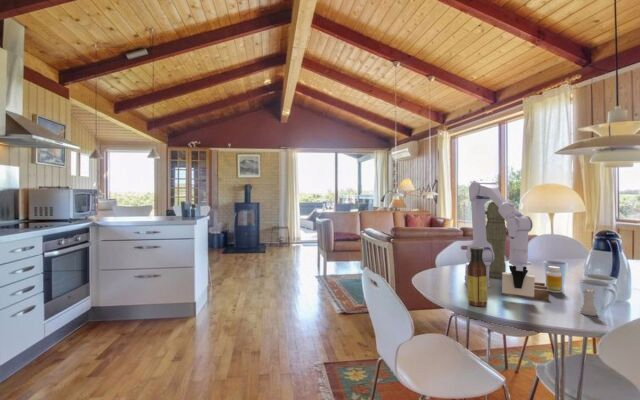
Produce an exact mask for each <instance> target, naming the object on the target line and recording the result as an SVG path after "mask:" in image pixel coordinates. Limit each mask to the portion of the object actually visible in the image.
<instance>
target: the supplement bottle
mask: <svg viewBox="0 0 640 400" xmlns="http://www.w3.org/2000/svg"><path fill="white" fill-rule="evenodd" d="M547 270H548V271H546V272H545V286H547V290H549V293H554V294H555V293H556V294H557V293H562V286H563V285H562V284H563V281H562V280H563V274H562V273H561V267H560V266H554V265H548V266H547Z"/></svg>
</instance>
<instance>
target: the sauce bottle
mask: <svg viewBox="0 0 640 400" xmlns="http://www.w3.org/2000/svg"><path fill="white" fill-rule="evenodd" d="M470 252H471V261H470V263H469V262H468V263H469V264H468V274H467V283H468V285H467V302H468V304H469V305H471V306H472V307H473V306H474V307H478V308H480V307H486V306H487V305H488V287H487V275H486V266H485V264H484V262H483V259H482V253H483V247H471V248H470Z"/></svg>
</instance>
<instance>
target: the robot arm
mask: <svg viewBox="0 0 640 400" xmlns="http://www.w3.org/2000/svg"><path fill="white" fill-rule="evenodd" d="M468 195H469V196H468V197H469V199H468V200H469V201H470V203H471V204H470V205H471V206H470V207H471V208H470V209H471V223H472V227H471V228H472V241H471V242H470V243H468V244H467V247H466V252H465V254H466V260H467V262H465V272H464V273H465V275H464V285H466V286H468V283H467V274H468V264H469V263H470V261H471V252H470V248H471V247H479V248H483V253H482V259H483V262H484V264H485V266H486V275H487V288H491V282H490V278H489V265H491V263H492V262H493V260H494V252H493V249H492V245H491V244H490V243H488V242H487V238H486V225H487V221H486V214H485V212H486V208H485V207H486V206H485V204H486V203H487V202H489V201H490V200H491V202H494V203H495V204H496V205H497V206H498V207H499V209H498V211H499V213H500V214H501V216H502V217H503V218H504V219H505V226H506V230H507V229H508V235H507V236H509V260H508V263H509V266H508V267H509V272H510V273H512V276H513V282H514V287H515V288H519V289H521V288H522V285H523V281H524V278H525V275H528V272H529V270H528V269H527V268H528V267H527V266H531V265H532V262H530V261H528V255H529V254H528V251H529V232H531V230H532V229H533V226H534V224H533V220H532V218H531V216H529V215H525V214H522V213H521V212H520V210H519V209H518V208H517V207H516V205H515V204H514V203H513V202H510V201H507V200H506V198H505V197H504V196H503V194H502V193H501V192H500V185H499V184H498V183H497V181H479V180H478V181H477V180H474V181H473V180H472V182H470V184H469V187H468Z"/></svg>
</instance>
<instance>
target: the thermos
mask: <svg viewBox="0 0 640 400" xmlns="http://www.w3.org/2000/svg"><path fill="white" fill-rule="evenodd" d="M498 209H499V207H498V206H497V205H496V204H495V203H494V202H493V201H490V202H489V203H488V205H487V208H486V210H485V215H486V219H487V220H486V238H487V242H488V243H490V244H491V245H492V249H493V252H494V260H493V262H492V263H491V265H489V279H496V280H502V272H506V269H507V268H506V267H507V266H506V261H505V254H506V253H505V252H506V251H505V250H506V249H505V248H506V240H507V236H509V235H508V229H507V226H506V221H505V219H504V218H503V217H502V216H501V214H500V213H499V211H498ZM506 273H507V272H506Z"/></svg>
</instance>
